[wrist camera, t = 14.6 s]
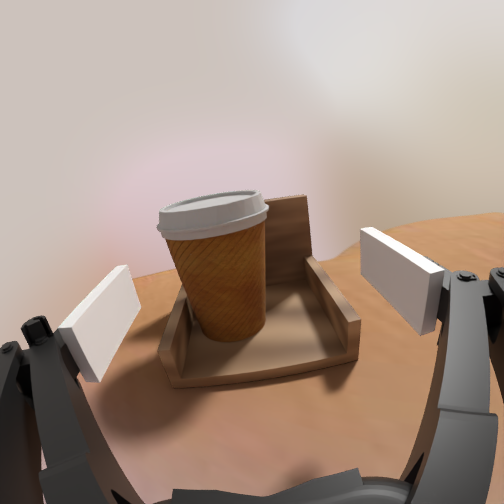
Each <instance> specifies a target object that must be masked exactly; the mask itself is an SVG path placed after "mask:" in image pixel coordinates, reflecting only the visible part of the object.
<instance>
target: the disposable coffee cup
mask: <svg viewBox="0 0 504 504" xmlns="http://www.w3.org/2000/svg"><path fill="white" fill-rule="evenodd" d="M268 210H269V206H268V205H267V204H265V202H264V200H263V197H262V195H261V192H260V191H257V190H244V191H232V192H224V193H217V194H212V195H206V196H201V197H197V198H192V199H188V200H184V201H180V202H177V203H174V204H171V205H168V206H166V207H164V208H162V209H160V211H159V224H158V225H157V230H158V231H159V232H161V234H162V237H163V238H165V239H166V242H167V245H168V248H169V250H170V254H171V256H172V259H173V261H174V263H175V267H176V269H177V271H178V274H179V277H180V280H181V282H182V284H183V287H184V289H185V292H186V294H187V297H188V299H189V301H190V304H191V306H192V309H193V311H194V313H195V316H196V318H197V320H198V322H199V325H200V327H201V329H202V332H203V334H204V335H205V336H206V337H207V338H209V339H211V340H214V341H218V342H234V341H240V340H243V339H246V338H249V337H251V336H253V335H254V334H256V333H257V332H259V331H260V330H261V329H262V328H263V326H264V325H265V321H266V312H265V310H266V307H265V304H266V300H265V297H266V294H265V290H266V289H265V285H266V282H265V219H266V218H267V213H266V212H267V211H268Z"/></svg>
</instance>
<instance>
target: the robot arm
mask: <svg viewBox="0 0 504 504" xmlns="http://www.w3.org/2000/svg"><path fill="white" fill-rule="evenodd" d="M360 244H361V275H362V276H363V277H364V278H365V279H366V280H367V281H368V282H369V283H370V284H371V285H372V286H373V287H374V288H375V289H376V290H377V291H378V292H379V293H380V294H381V295H382V296H383V297H384V298H385V299H386V300H387V301H388V302H389V303H390V304H391V305H392V306H393V307H394V308H395V309H396V310H397V311H398V313H399V314H400V315H401V316H402V317H403V318H404V319H405V320H406V321H407V322H408V323H409V324H410V325H411V326H412V327H413V329H414V330H415V331H416V332H417V333H418V334H419V335H420V336H421V335H424V334H427V333H430V332H432V331H434V330H435V325H436V320H437V318H438V319H439V320H440V321H441V322H442V326H441V330H440V334H439V338H438V342H437V345H438V351H437V357H436V363H435V368H434V373H433V378H432V383H431V388H430V392H429V396H428V400H427V404H426V408H425V412H424V415H423V419H422V422H421V425H420V429H419V432H418V435H417V438H416V441H415V444H414V447H413V450H412V452H411V455H410V458H409V460H408V463H407V465H406V467H405V469H404V471H403V473H402V475H401V477H400V479H399V480H398V479H393V478H387V477H361V476H360V473H359V470H358V468H355V469H352V470H348V471H345V472H341V473H337V474H333V475H329V476H325V477H321V478H316V479H312V480H310V481H308V482H305V483H303V484H300V485H298V486H295V487H293V488H290V489H287V490H285V491H282V492H279V493H276V494H273V495H270V496H266V497H259V496H251V495H243V494H236V493H230V492H224V491H219V490H185V489H173V493H172V499H168V500H164V501H160V502H157V503H154V504H485V503H486V499H487V495H488V491H489V486H490V481H491V476H492V471H493V465H494V459H495V452H496V443H497V433H498V416H497V415H496V414H494V413H489V404H490V360H489V356H490V359H491V362H492V365H493V368H494V371H495V374H496V378H497V381H498V384H499V388H500V391H501V395H502V399H503V403H504V268H503V267H501V268H493V269H491V271H490V276H489V280H481V281H479V278H478V276H477V275H475V274H474V273H471V272H468V271H455V272H453V273H452V272H451V271H449V270H448V269H446V268H444V267H443V266H441V265H439V264H438V263H436V262H434V261H433V260H431V259H430V258H428V257H425V256H422V255H420V254H418V253H417V252H415V251H413V250H412V249H410V248H408V247H407V246H405V245H403V244H401V243H400V242H398V241H396V240H394V239H393V238H391V237H389V236H387V235H386V234H384V233H382V232H380V231H378V230H376V229H375V228H373V227H368V228H362V229H360ZM140 309H141V305H140V302H139V299H138V296H137V293H136V290H135V287H134V284H133V281H132V277H131V274H130V270H129V267H128V265H123V266H117V267H115V269H114V270H112V271H111V272H110V273H109V274H108V275H107V276H106V277H105V278H104V279H103V280H102V281H101V282H100V283H99V284H98V285H97V286H96V287H95V288H94V289H93V290H92V291H91V293H89V295H88V296H87V297H86V298H85V299H84V300H83V301H82V302H81V303H80V304H79V305H78V306H77V307H76V308H75V309H74V310H73V311H72V313H71V314H70V315H69V316H68V317H67V318H66V319H65V320H64V321H63V323H62V324H61V325H60V326H59V327H58V329H57V330H56V331H55V332H54V333H53V332H52V330H51V328H50V326H49V324H48V321H47V319H46V317H45V316H37V317H34V318H32V319H30V320H28V321H27V322H25V323H24V324H23V325H22V327H21V330H22V332H23V335H24V337H25V339H26V341H27V343H28V345H29V349H27V350H22V349H21V347H20V345H19V344H18V342H17V341H12V342H7V343H5V344H4V345H2V347H1V348H0V504H44V503H43V494H44V497H45V500H46V503H47V504H145V503H144V502H143V501H142V500H141V498H140V497H139V496H138V494H137V493H136V491H135V490H134V488H133V487H132V485H131V484H130V482H129V481H128V479H127V477H126V476H125V474H124V473H123V471H122V469H121V468H120V466H119V464H118V462H117V461H116V459H115V457H114V455H113V454H112V452H111V450H110V448H109V446H108V444H107V442H106V440H105V438H104V436H103V434H102V432H101V430H100V428H99V426H98V424H97V422H96V420H95V418H94V415H93V413H92V411H91V409H90V406H89V404H88V402H87V399H86V397H85V394H84V392H83V389H82V387H81V384H80V382H79V380H78V379H77V375H78V373H79V372H81V374H82V376H83V377H84V379H85V381H86V382H99V383H100V381H101V379H102V378H103V376H104V374H105V372H106V370H107V368H108V366H109V364H110V362H111V360H112V358H113V357H114V355H115V353H116V351H117V349H118V347H119V346H120V344H121V342H122V340H123V338H124V336H125V335H126V333H127V331H128V329H129V328H130V326H131V324H132V322H133V321H134V319H135V317H136V315H137V314H138V312H139V310H140ZM41 445H42V450H43V454H44V458H45V461H46V465H47V468H46V469H44V470H41Z"/></svg>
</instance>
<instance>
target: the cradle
mask: <svg viewBox="0 0 504 504" xmlns="http://www.w3.org/2000/svg"><path fill="white" fill-rule="evenodd" d="M264 202H265V204H267V205H268V206H269V210H268V211H267V212H266V213H267V218H266V219H265V282H266V285H265V289H266V290H265V294H266V297H265V300H266V304H265V307H266V310H265V312H266V321H265V325H264V326H263V328H262V329H261V330H260V331H259V332H257V333H256V334H254V335H253V336H251V337H249V338H246V339H243V340H240V341H234V342H218V341H214V340H211V339H209V338H207V337H206V336H205V335H204V334H203V332H202V329H201V327H200V325H199V322H198V320H197V318H196V316H195V313H194V311H193V309H192V306H191V304H190V301H189V299H188V297H187V294H186V292H185V289H184V287H183V284H182V286H181V289H180V291H179V294H178V296H177V299H176V301H175V304H174V307H173V309H172V312H171V314H170V317H169V320H168V322H167V325H166V328H165V331H164V333H163V336H162V339H161V342H160V344H159V347H158V350H157V352H158V354H159V357H160V359H161V361H162V364H163V366H164V369H165V371H166V373H167V376H168V378H169V380H170V382H171V385H172V387H173V388H188V387H202V386H214V385H224V384H233V383H241V382H249V381H256V380H263V379H269V378H276V377H282V376H287V375H293V374H298V373H303V372H308V371H313V370H317V369H322V368H326V367H331V366H335V365H339V364H343V363H347V362H351V361H355V360H358V354H359V343H360V329H361V318H360V317H359V316H358V314H357V313H356V312H355V310H354V309H353V308H352V306H351V305H350V304H349V302H348V301H347V300H346V298H345V297H344V296H343V294H342V293H341V292H340V290H339V289H338V288H337V286H336V285H335V284H334V282H333V281H332V280H331V279H330V277H329V276H328V275H327V273H326V272H325V271H324V270H323V268H322V267H321V266H320V264H319V263H318V262H317V261H316V259H315V258H314V257H313V256H312V248H311V236H310V224H309V214H308V205H307V196H306V195H296V196H288V197H281V198H274V199H267V200H264Z"/></svg>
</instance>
